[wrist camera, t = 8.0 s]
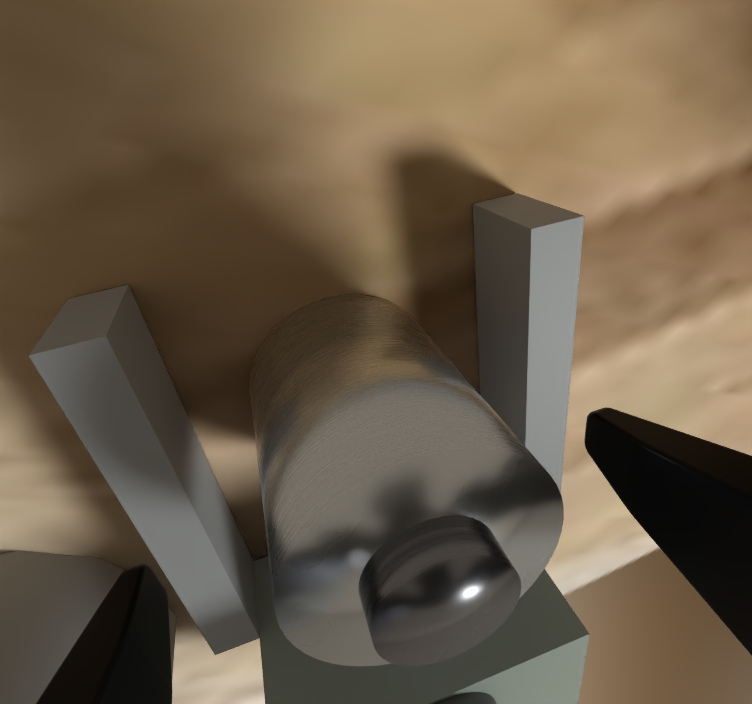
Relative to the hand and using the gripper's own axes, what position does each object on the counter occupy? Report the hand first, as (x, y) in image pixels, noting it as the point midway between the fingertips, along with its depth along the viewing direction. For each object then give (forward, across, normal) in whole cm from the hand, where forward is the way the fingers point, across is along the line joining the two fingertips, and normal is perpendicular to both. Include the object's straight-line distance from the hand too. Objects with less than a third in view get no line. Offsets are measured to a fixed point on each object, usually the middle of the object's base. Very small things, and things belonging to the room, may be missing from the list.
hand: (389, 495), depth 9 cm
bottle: (+4, 0, 0) cm, 4 cm away
